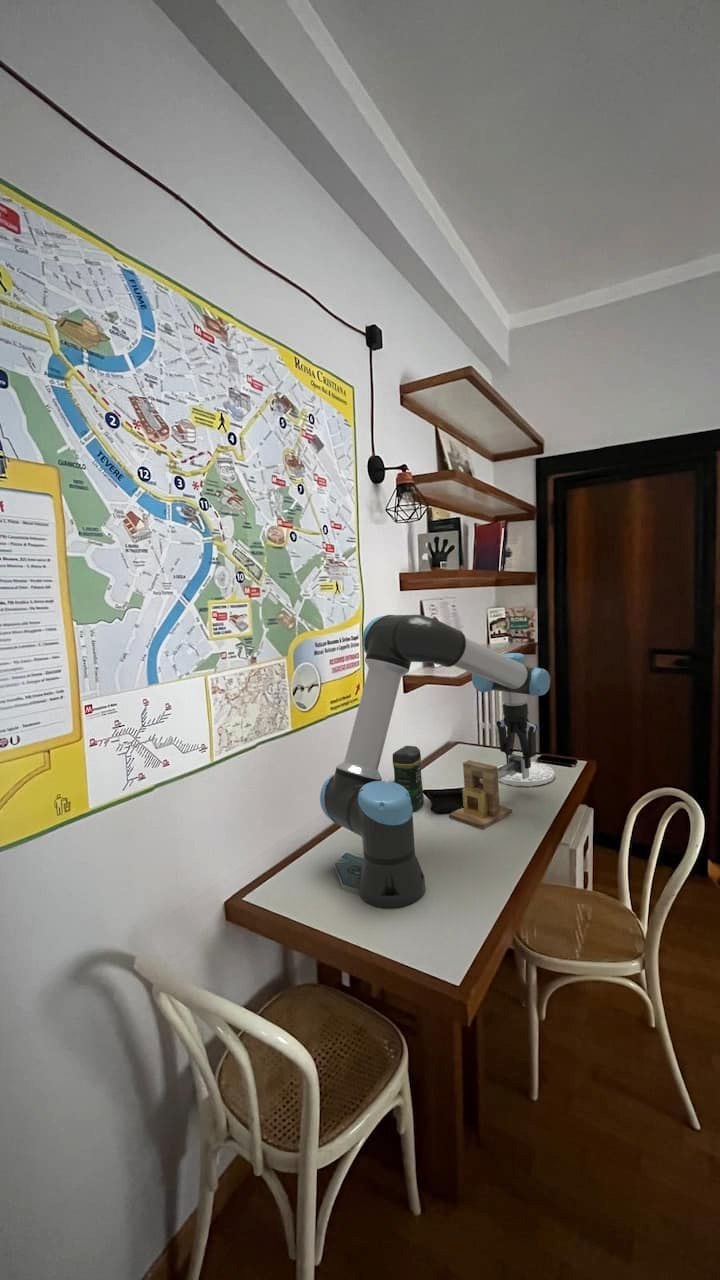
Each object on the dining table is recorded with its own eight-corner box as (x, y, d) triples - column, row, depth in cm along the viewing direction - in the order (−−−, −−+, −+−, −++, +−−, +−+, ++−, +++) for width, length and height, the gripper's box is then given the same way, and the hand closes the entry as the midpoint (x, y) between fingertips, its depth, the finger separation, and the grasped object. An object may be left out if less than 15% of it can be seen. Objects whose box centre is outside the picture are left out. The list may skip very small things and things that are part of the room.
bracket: (482, 829, 148) (479, 776, 147) (449, 817, 157) (445, 768, 156) (512, 813, 157) (509, 763, 156) (479, 803, 166) (476, 755, 165)
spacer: (483, 818, 152) (481, 794, 151) (463, 812, 157) (462, 789, 157) (488, 815, 154) (487, 792, 153) (469, 809, 159) (467, 786, 158)
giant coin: (516, 765, 199) (515, 757, 199) (565, 776, 184) (565, 767, 183) (482, 779, 186) (481, 771, 186) (532, 792, 171) (532, 783, 171)
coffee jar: (416, 813, 162) (411, 753, 160) (392, 810, 166) (387, 752, 164) (427, 801, 170) (423, 744, 169) (404, 799, 174) (400, 743, 173)
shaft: (486, 789, 155) (485, 776, 155) (475, 786, 158) (474, 773, 158) (528, 769, 169) (527, 757, 168) (517, 767, 172) (516, 755, 171)
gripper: (546, 703, 163) (550, 778, 165) (499, 698, 176) (503, 767, 178) (532, 708, 158) (536, 785, 160) (484, 702, 171) (489, 774, 173)
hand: (519, 776), depth 169 cm, fingers closed on shaft, 4 cm apart
